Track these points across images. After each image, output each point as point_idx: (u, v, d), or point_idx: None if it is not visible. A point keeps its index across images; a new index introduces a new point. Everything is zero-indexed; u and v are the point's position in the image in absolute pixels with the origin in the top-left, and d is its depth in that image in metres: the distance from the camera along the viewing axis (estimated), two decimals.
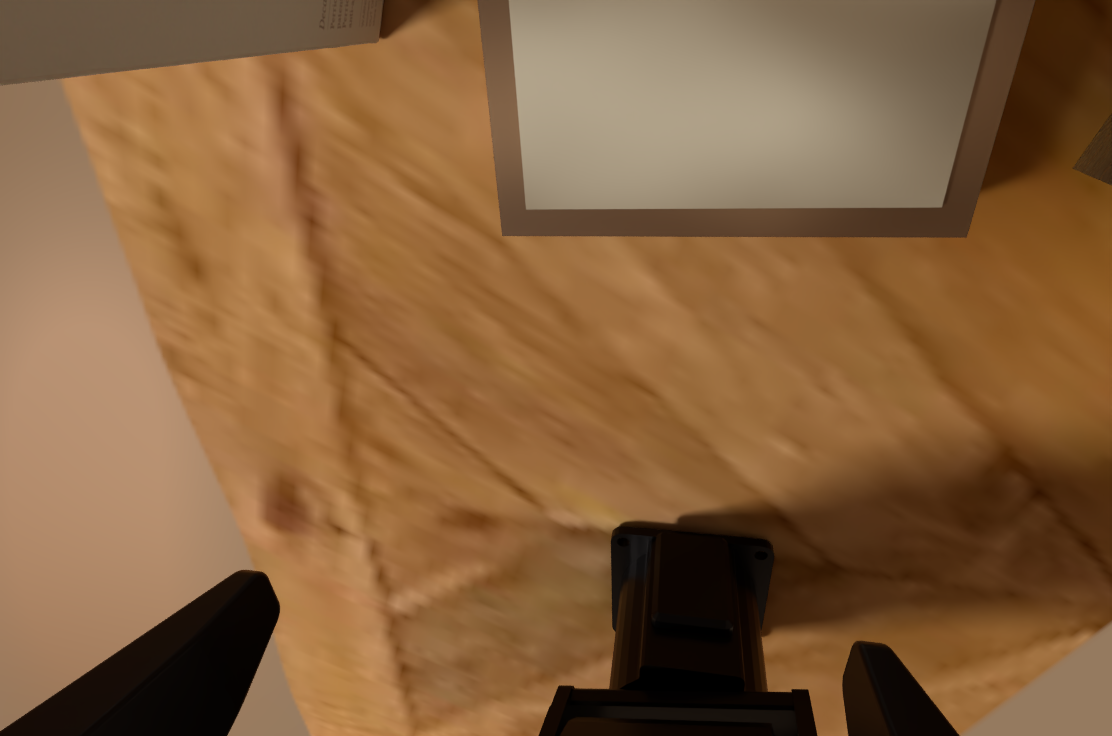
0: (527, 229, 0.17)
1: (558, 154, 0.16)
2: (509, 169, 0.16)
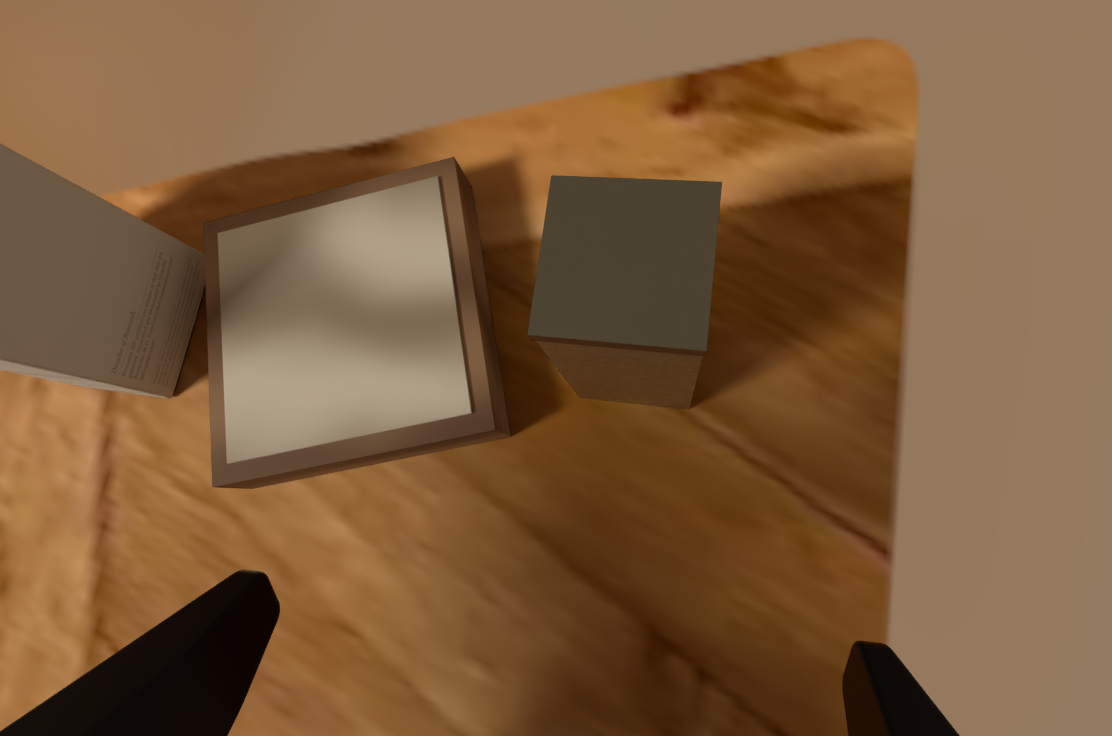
0: (229, 479, 0.25)
1: (247, 424, 0.25)
2: (219, 440, 0.25)
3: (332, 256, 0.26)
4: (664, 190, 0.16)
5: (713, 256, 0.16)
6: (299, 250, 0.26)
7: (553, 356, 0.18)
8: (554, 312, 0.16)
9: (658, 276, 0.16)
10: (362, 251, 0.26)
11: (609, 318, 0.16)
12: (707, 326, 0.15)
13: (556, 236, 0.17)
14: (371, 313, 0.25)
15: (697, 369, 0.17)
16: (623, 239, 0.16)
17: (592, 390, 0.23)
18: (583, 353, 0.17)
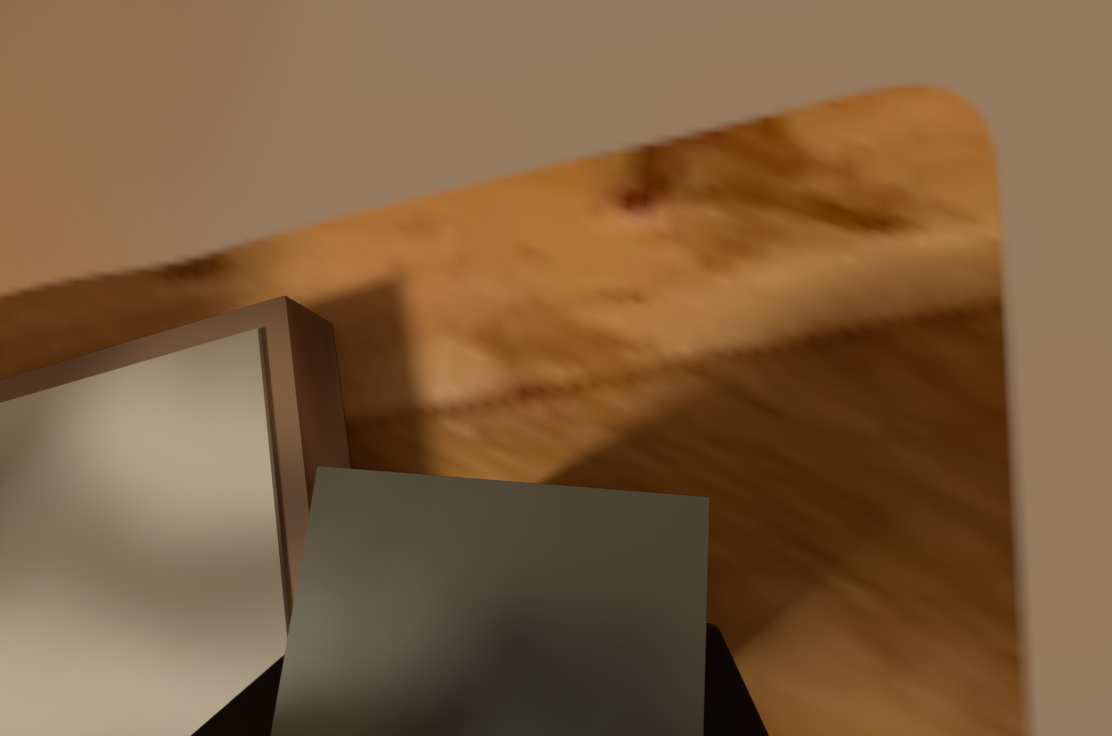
0: None
1: None
2: None
3: (95, 463, 0.17)
4: (571, 517, 0.07)
5: (699, 711, 0.06)
6: (44, 453, 0.17)
7: None
8: None
9: None
10: (138, 455, 0.16)
11: None
12: None
13: (321, 629, 0.07)
14: (148, 562, 0.16)
15: None
16: (474, 646, 0.07)
17: None
18: None
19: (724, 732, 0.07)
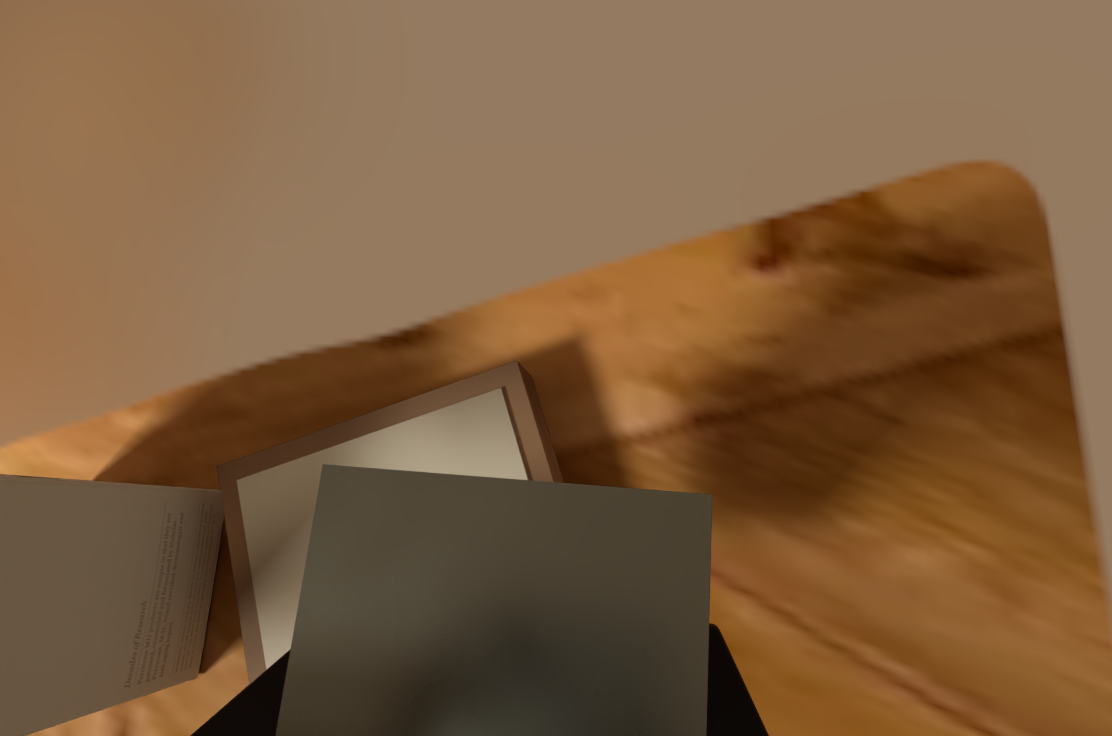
0: None
1: None
2: None
3: None
4: (574, 514, 0.07)
5: (702, 706, 0.06)
6: None
7: None
8: None
9: None
10: None
11: None
12: None
13: (326, 625, 0.07)
14: None
15: None
16: (480, 642, 0.07)
17: None
18: None
19: (724, 732, 0.07)
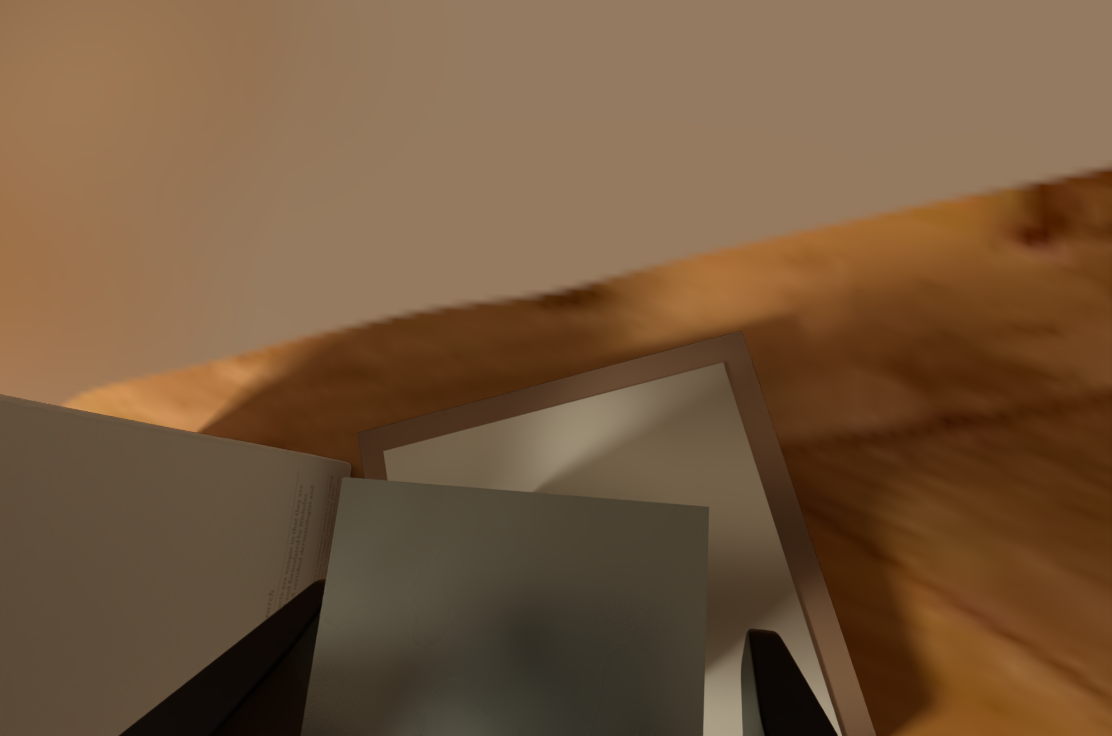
0: None
1: None
2: None
3: (570, 490, 0.17)
4: (581, 524, 0.07)
5: (699, 704, 0.07)
6: (517, 480, 0.18)
7: None
8: None
9: None
10: (620, 483, 0.17)
11: None
12: None
13: (348, 629, 0.07)
14: None
15: None
16: (492, 644, 0.07)
17: None
18: None
19: None
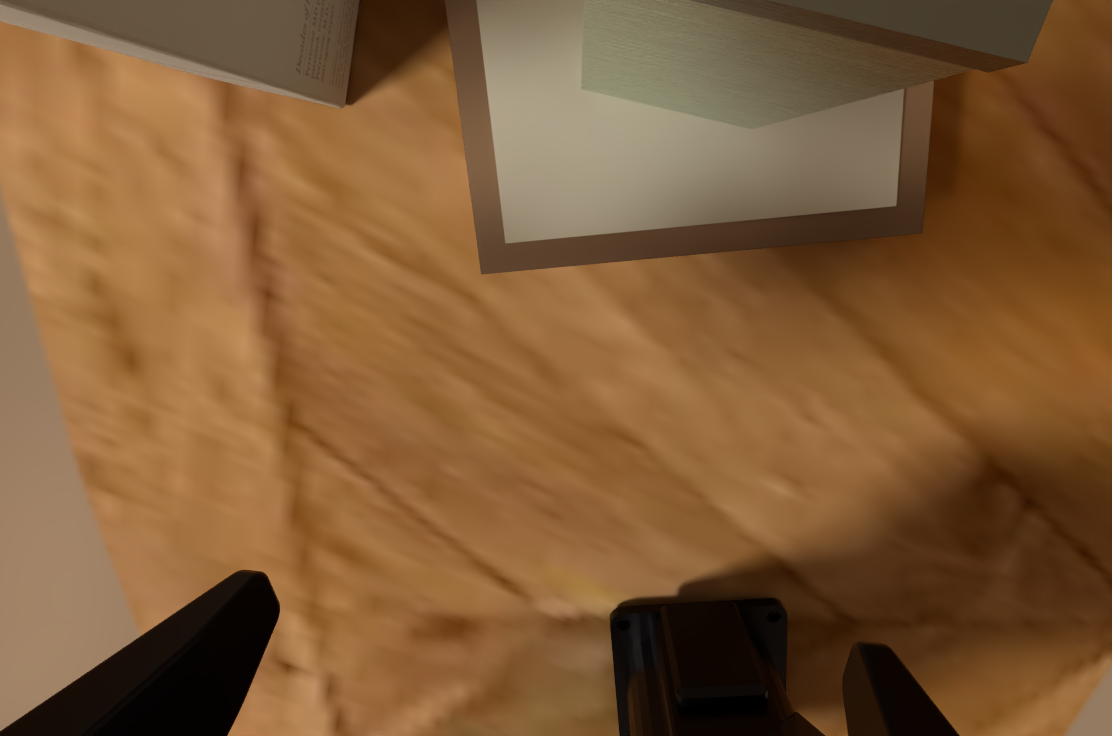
0: (507, 265, 0.17)
1: (535, 185, 0.16)
2: (487, 205, 0.17)
3: None
4: None
5: None
6: None
7: (598, 18, 0.08)
8: None
9: None
10: None
11: None
12: None
13: None
14: None
15: (899, 88, 0.08)
16: None
17: (616, 84, 0.13)
18: (678, 22, 0.08)
19: None
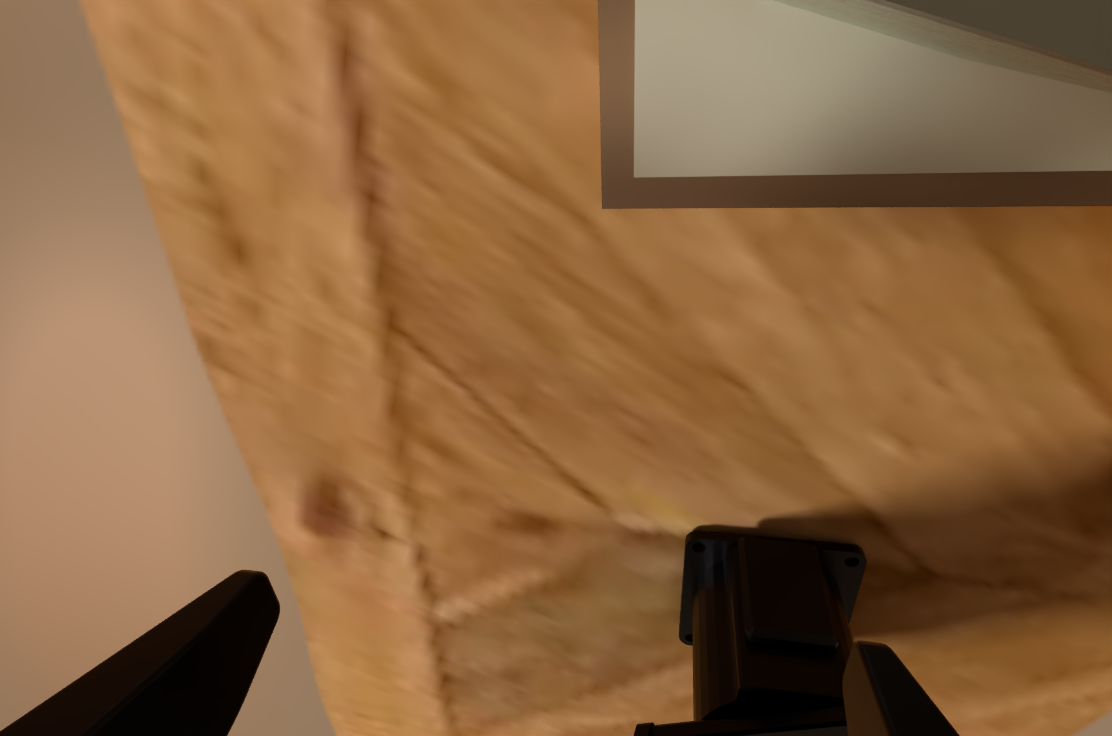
0: (632, 200, 0.15)
1: (678, 112, 0.14)
2: (617, 130, 0.14)
3: None
4: None
5: None
6: None
7: (840, 0, 0.06)
8: None
9: None
10: None
11: None
12: None
13: None
14: None
15: None
16: None
17: (807, 8, 0.11)
18: (965, 32, 0.06)
19: None
